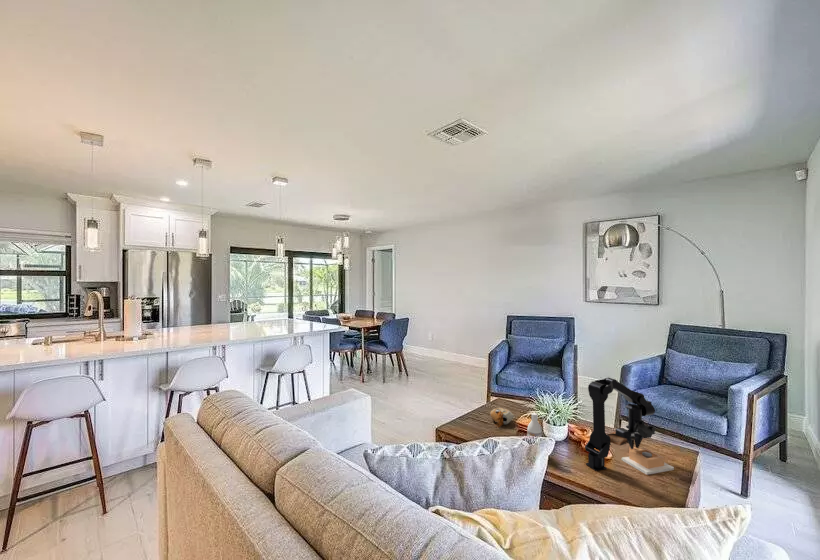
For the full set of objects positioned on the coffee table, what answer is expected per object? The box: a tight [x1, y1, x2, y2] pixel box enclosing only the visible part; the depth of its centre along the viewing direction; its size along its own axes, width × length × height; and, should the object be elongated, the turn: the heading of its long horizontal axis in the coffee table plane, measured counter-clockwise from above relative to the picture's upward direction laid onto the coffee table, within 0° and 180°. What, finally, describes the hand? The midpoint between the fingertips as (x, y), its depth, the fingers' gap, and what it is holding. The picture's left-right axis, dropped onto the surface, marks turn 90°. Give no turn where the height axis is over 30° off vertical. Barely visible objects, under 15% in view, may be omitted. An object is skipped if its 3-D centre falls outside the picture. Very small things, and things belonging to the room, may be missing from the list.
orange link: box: [628, 445, 665, 469], centre depth 181 cm, size 10×14×4 cm
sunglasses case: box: [606, 430, 628, 446], centre depth 207 cm, size 18×7×7 cm, turn 123°
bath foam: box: [526, 412, 543, 437], centre depth 190 cm, size 7×7×20 cm
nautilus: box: [490, 407, 514, 428], centre depth 229 cm, size 8×22×15 cm
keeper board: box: [621, 452, 675, 475], centre depth 179 cm, size 16×14×5 cm
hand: (634, 448), depth 185 cm, fingers open, 3 cm apart
